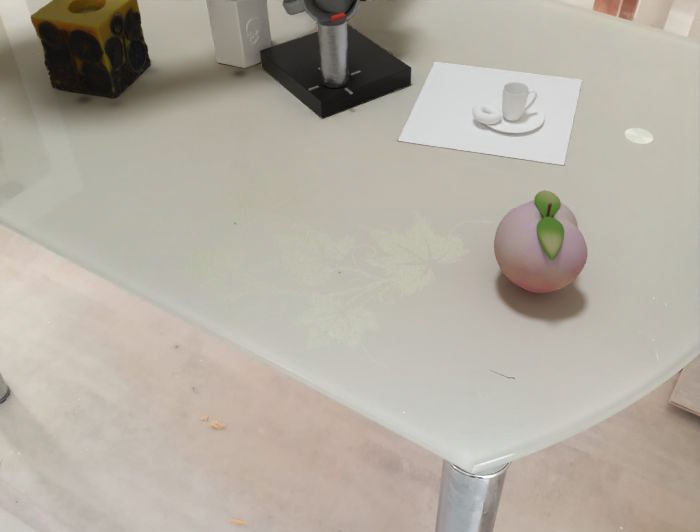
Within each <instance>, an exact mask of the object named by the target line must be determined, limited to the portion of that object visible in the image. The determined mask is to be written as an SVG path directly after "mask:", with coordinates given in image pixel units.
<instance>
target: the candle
mask: <svg viewBox="0 0 700 532" xmlns="http://www.w3.org/2000/svg"><path fill="white" fill-rule="evenodd" d="M30 22H31V24H32V25H33V27H34V30H35V33H36V36H37V38H38V39H39V41H40V43H41V46H42V49H43V56H44V57H43V58H44V65H45V67H46V71H48V76H49V80H50V84H51V87H52V88H53V89H59V90H65V91H68V92H75V93H80V94H82V93H83V94H87V95H95V96H101V97H107V98H117V97H119V96H120V94H121V93H123V92H124V91H125V90H126V89H127V88H128V87H129V86H130V85H131V84H132V83H133V82H135V81H136V79H137V78H138V77H139V76H140V75H141V74H143V72H144V71H145V70H146V69H147V68H148V67H149V66H150V65H151V62H152V60H151V58H150V55H149V47H148V44H147V42H146V40H145V35H144V29H143V27H142V16H141V12H140V8H139V1H138V0H51V1H49V2H48V3H47V4H45V5H43V6H42V7H41V8H39V9H38V10H37V11H35V12H34V13H32V14H31V15H30Z"/></svg>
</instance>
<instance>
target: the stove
mask: <svg viewBox="0 0 700 532" xmlns="http://www.w3.org/2000/svg"><path fill="white" fill-rule="evenodd" d="M347 38H348V67H349V82H348V83H347V84H346V85H345V86H343V87H339V88H329V87H326V86H324V85H323V84H322V83H321V73H320V57H319V42H318V31H315V32H312V33H309V34H305V35H302V36H299V37H297V38H294V39H290V40H287V41H284V42H282V43H279V44H276V45H273V46H272V47H269V48H266V49H263V50H260V57H261V63H260V65H261V68H262V69H263V70H264V71H265V72H266V73H268V74H269V75H270V76H271V77H272V78H273V79H275V80H276V81H277V82H278V83H280V85H282V86H283V87H284V88H285V89H286V90H287V91H289V92H290V94H292V95H294V96H295V97H296V98H297V99H298V100H300V102H302V104H304V105H305V106H307V107H308V108H309V109H310V110H311V111H313V113H315V114H316V115H317V116H318V117H319V118H321V119H324V118H327V117H329V116H332V115H335V114H338V113H341V112H343V111H346V110H349V109H351V108H353V107H356V106H359V105H361V104H364V103H367V102H369V101H372V100H374V99H377V98H380V97H382V96H385V95H388V94H391V93H393V92H396V91H398V90H401V89H403V88H406V87H409V86H411V85H412V67H411V66H410V65H408V64H407V63H406V62H404V61H403V60H401V59H400V58H398V57H397V56H395V55H394V54H393V53H391V52H390V51H388V50H387V49H386V48H384V47H382V46H381V45H379V44H378V43H377V42H375V41H374V40H372V39H371V38H369V37H368V36H366V35H365V34H363V33H362V32H360V31H359V30H358V29H356V28H355V27H354V26H351V25H350V24H349V23H347Z"/></svg>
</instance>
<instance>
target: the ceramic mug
mask: <svg viewBox="0 0 700 532" xmlns="http://www.w3.org/2000/svg"><path fill="white" fill-rule="evenodd" d="M281 3H282V7H283V9H284V10H285V12H286V14H287V15H290V16H295V15H299V14H301V13H304V12H305V13H306V14H307V15H308V17H310V18H311V19H312V20H313V21H315V22H316V23H317V19H318V18H319V17H320V16H322V15H324V14H328V13H338V14H340V13H344V14H345V17H346V18H347V22H349V21H350V20H351V19H352V18H353V17H354V15H355V14H356V12H357V11H358V9H359V6H360V3H361V1H360V0H282V2H281Z"/></svg>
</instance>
